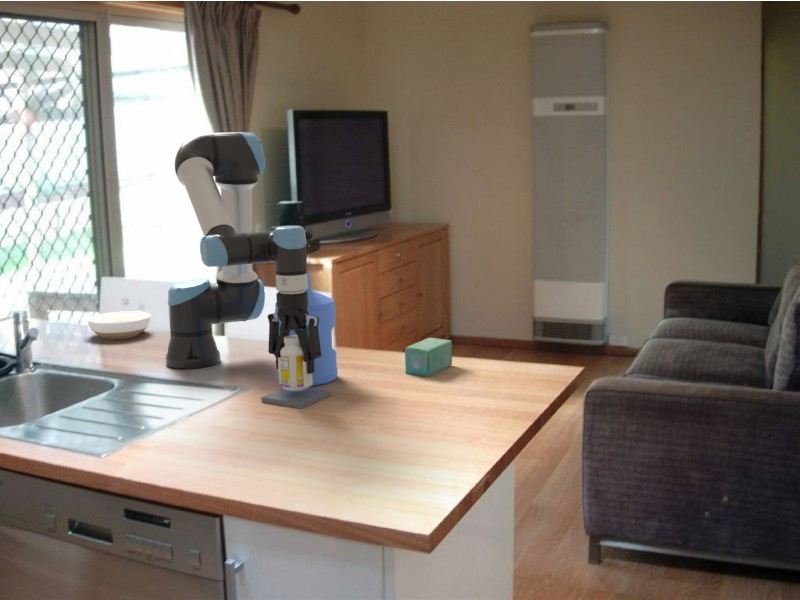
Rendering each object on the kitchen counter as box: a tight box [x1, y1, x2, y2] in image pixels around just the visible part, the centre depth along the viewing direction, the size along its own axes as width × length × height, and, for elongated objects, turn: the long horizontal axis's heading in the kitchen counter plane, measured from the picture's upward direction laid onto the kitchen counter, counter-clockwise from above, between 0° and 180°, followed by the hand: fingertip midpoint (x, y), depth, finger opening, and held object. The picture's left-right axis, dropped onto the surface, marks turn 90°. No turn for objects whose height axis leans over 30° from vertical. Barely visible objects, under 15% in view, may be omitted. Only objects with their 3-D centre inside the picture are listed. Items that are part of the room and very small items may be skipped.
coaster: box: [261, 387, 332, 409], centre depth 221 cm, size 12×12×1 cm
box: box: [404, 337, 453, 377], centre depth 245 cm, size 7×14×8 cm, turn 149°
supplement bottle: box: [280, 335, 309, 391], centre depth 219 cm, size 7×7×13 cm
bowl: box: [88, 310, 151, 340], centre depth 295 cm, size 20×20×6 cm
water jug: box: [274, 272, 338, 387], centre depth 236 cm, size 16×16×28 cm
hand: (295, 384), depth 220 cm, fingers closed on supplement bottle, 7 cm apart
